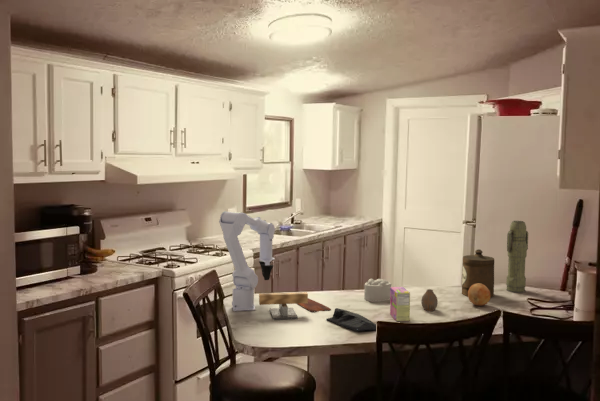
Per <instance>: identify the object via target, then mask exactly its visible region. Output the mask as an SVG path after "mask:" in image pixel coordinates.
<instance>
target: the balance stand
mask: <svg viewBox="0 0 600 401" xmlns="http://www.w3.org/2000/svg"><path fill="white" fill-rule="evenodd" d="M278 305H279V307H274V308H273V307H272V308H270V307H269V313H270V315H271V318H272V320H273V321H287V320H289V321H290V320H298V319H299V317H298V315H297V312H296V310H295V309H294V308H293V307H288V304H278Z"/></svg>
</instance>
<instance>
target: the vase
mask: <svg viewBox="0 0 600 401" xmlns="http://www.w3.org/2000/svg"><path fill="white" fill-rule="evenodd" d="M438 303H439V301H438V297H437V295H436V294H435V292H434V290H433V289H432V288H431V289H430V288H428V289H426V292H424V293H423V295H422V296H421V307H422V309H424V310H425V311H427V312H433V311H435V310H436V309H437V307H438Z"/></svg>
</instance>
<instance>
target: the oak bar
mask: <svg viewBox="0 0 600 401" xmlns="http://www.w3.org/2000/svg"><path fill="white" fill-rule="evenodd" d="M308 298H309V293H308V292H307V291H304V292H303V291H302V292H301V291H299V292H298V291H297V292H295V291H294V292H270V293H269V292H265V293H261V292H260V293H258V303H259V305H260V306H264V305H267V306H268V305H279V304H287V305H292V304H293V305H294V304H295V305H298V304H301V303H308Z"/></svg>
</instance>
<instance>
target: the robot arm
mask: <svg viewBox="0 0 600 401" xmlns="http://www.w3.org/2000/svg"><path fill="white" fill-rule="evenodd" d="M218 220H219V221H218V223H219V225H220V226H219V227H220V228H221V231H222V234H223V235H222V236H223V240H224V242H225V246H226V248H227V250H228V253H229V256H230V259H231V262H232V264H233V267H234V270H233V271H232V274H231V275H232V282H233V285H234V286H235V288H232V295H231V296H232V297H231V298H232V301H231V306H232V311H233V312H235V311H236V312H239V311H241V312H243V311H255V310H256V307H255V301H254V300H255V289H256V287H257V286H258V283H259V277H258V275H257V274H256V273H255V270H254V269H252V268H251V267H249V266H248V262H247V261H246V257H245V253H244V251H243V249H242V248H243V247H242V246H241V244H240V241H239V238H238V236H240V235H241V234H242V232H243V229H244V228H245V226H246V225H247V226H249V228H250V229H251V230H252V231H255V232H257V234H258V235H259V261H258V263H259V265H260V268H261V274H262V277H263V279H264V281H270V277H271V272H272V270H273V267H274V264H272V261H275V260H276V258H275V257H273V240H274V236H275V235H274V234H275V232H276V228H275V225H274V224H273V223H272V222H267V220H265V219H262V217H260V216H256V217H251V216H249V215H248V214H247V213H245V212H242V211H241V212H239V211H237V212H235V211H228V210H227V211H226V210H224V211H223V212H221V214H220V218H219V219H218Z"/></svg>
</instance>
